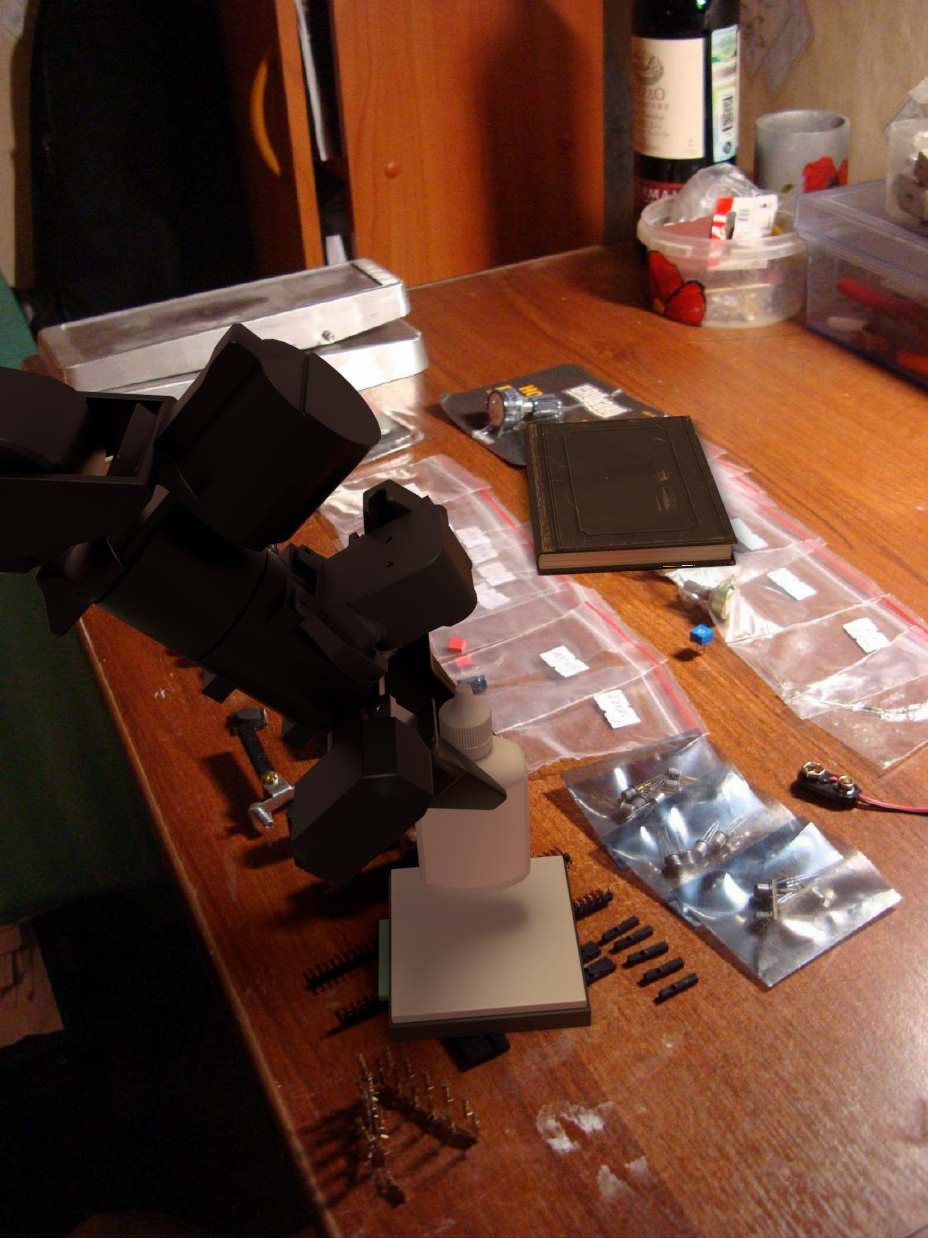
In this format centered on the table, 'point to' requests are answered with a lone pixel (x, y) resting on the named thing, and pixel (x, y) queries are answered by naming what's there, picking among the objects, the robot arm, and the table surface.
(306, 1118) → the table surface
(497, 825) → the eye dropper bottle
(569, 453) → the hardcover book
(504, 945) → the kitchen scale
